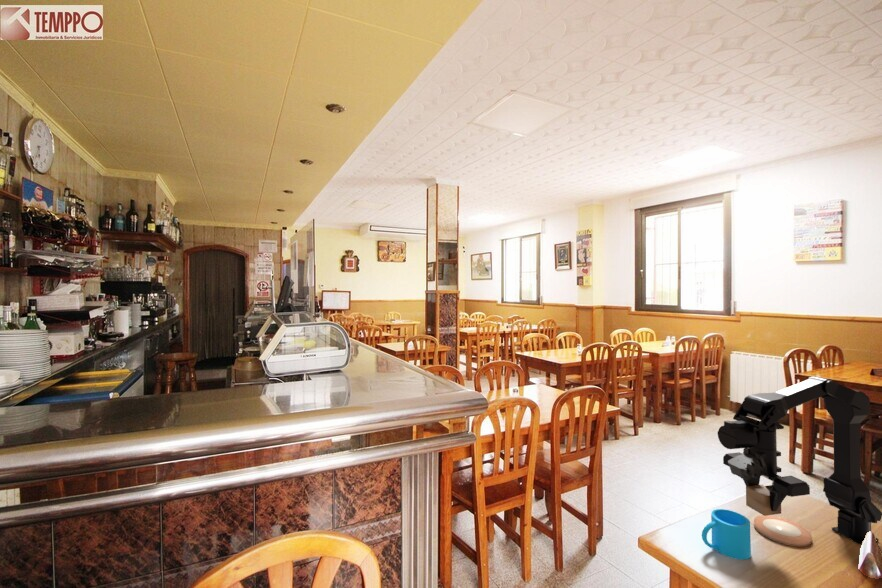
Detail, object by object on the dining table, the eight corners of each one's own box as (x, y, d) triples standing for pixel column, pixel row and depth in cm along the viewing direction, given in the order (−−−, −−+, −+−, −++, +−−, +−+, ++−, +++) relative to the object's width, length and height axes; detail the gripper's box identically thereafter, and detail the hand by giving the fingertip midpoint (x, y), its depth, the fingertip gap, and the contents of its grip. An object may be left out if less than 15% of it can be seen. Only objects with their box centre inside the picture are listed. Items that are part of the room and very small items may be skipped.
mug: (732, 537, 106) (731, 507, 106) (759, 557, 98) (758, 525, 98) (691, 541, 105) (690, 511, 105) (715, 562, 97) (714, 530, 97)
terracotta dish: (778, 517, 115) (778, 512, 115) (824, 543, 103) (824, 538, 103) (742, 522, 113) (742, 517, 113) (785, 549, 101) (785, 544, 101)
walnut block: (762, 503, 105) (762, 484, 105) (781, 513, 100) (781, 494, 100) (746, 505, 104) (745, 486, 104) (764, 515, 99) (764, 496, 99)
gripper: (705, 435, 110) (706, 490, 110) (770, 464, 92) (772, 530, 92) (740, 431, 112) (741, 486, 112) (811, 459, 93) (812, 524, 94)
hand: (763, 505), depth 102 cm, fingers closed on walnut block, 5 cm apart
